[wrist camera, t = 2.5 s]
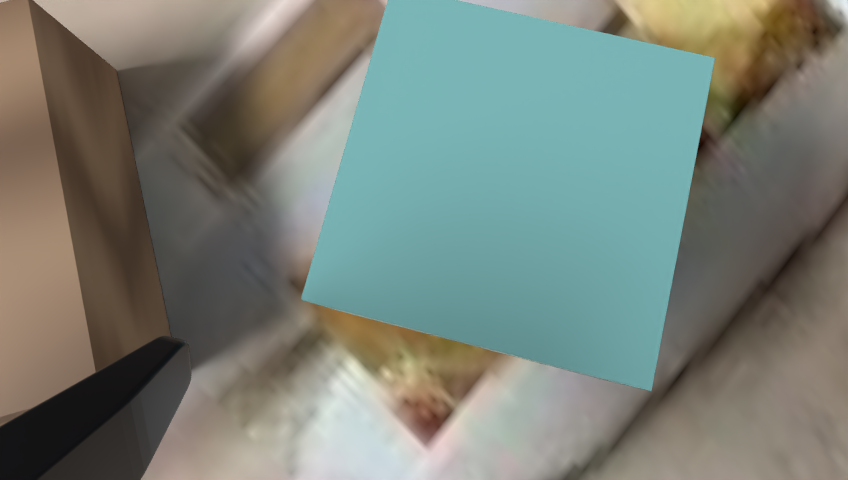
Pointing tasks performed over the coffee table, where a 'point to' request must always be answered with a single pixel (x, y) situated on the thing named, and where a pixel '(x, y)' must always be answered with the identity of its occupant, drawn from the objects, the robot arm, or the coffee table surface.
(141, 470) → the robot arm
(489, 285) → the lid
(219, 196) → the coffee table surface
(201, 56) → the coffee table surface
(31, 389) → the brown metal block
